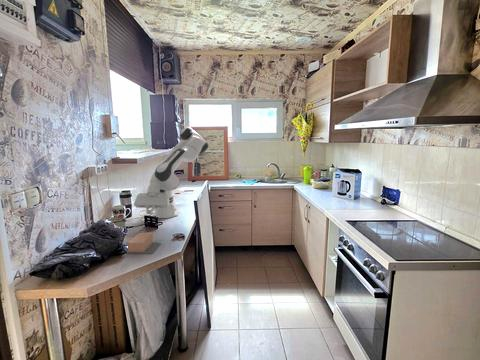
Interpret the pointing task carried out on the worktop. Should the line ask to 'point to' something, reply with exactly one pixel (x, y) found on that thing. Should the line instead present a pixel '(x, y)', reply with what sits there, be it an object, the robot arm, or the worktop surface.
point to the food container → (118, 222)
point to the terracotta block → (140, 242)
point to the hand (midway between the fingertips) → (148, 213)
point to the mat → (149, 250)
